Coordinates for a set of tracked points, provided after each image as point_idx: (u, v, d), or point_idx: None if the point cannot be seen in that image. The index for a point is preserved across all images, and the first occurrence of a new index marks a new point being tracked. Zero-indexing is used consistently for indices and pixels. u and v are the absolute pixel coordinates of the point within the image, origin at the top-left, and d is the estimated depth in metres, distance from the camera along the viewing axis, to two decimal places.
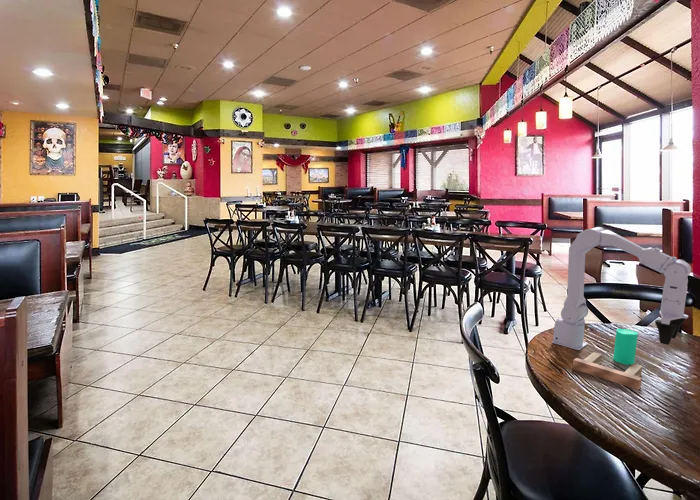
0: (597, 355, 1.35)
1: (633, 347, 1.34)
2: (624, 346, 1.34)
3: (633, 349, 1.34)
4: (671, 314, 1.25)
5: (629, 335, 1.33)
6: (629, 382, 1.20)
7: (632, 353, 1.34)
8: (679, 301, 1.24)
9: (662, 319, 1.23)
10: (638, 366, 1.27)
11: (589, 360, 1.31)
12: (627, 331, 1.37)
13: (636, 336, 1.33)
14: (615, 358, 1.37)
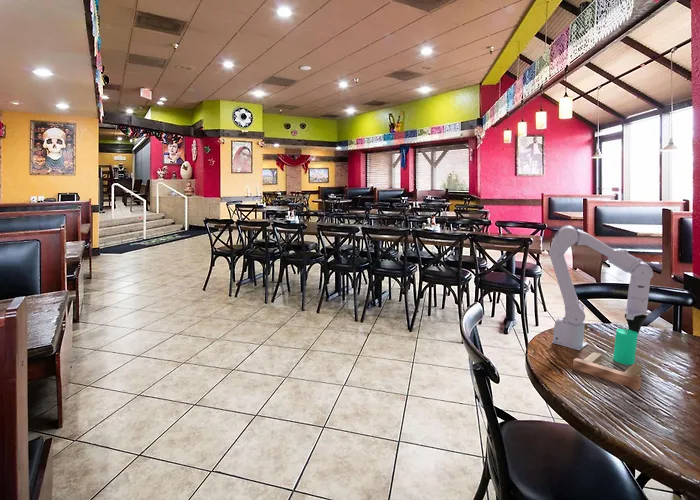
0: (597, 355, 1.35)
1: (633, 347, 1.34)
2: (624, 346, 1.34)
3: (633, 349, 1.34)
4: (635, 310, 1.37)
5: (629, 335, 1.33)
6: (629, 382, 1.20)
7: (632, 353, 1.34)
8: (642, 298, 1.36)
9: (627, 315, 1.36)
10: (638, 366, 1.27)
11: (589, 360, 1.31)
12: (627, 331, 1.37)
13: (636, 336, 1.33)
14: (615, 358, 1.37)
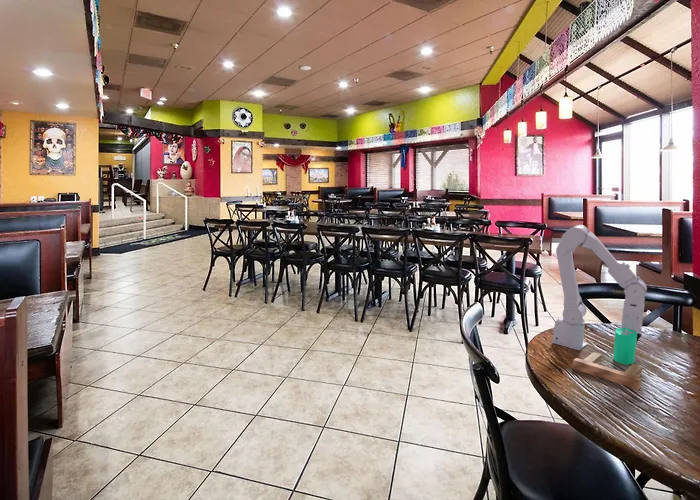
0: (597, 355, 1.35)
1: (633, 347, 1.33)
2: (623, 347, 1.34)
3: (633, 349, 1.33)
4: None
5: (628, 336, 1.32)
6: (629, 382, 1.20)
7: (632, 353, 1.34)
8: (637, 317, 1.35)
9: None
10: (638, 366, 1.27)
11: (589, 360, 1.31)
12: None
13: (635, 336, 1.32)
14: (615, 358, 1.37)
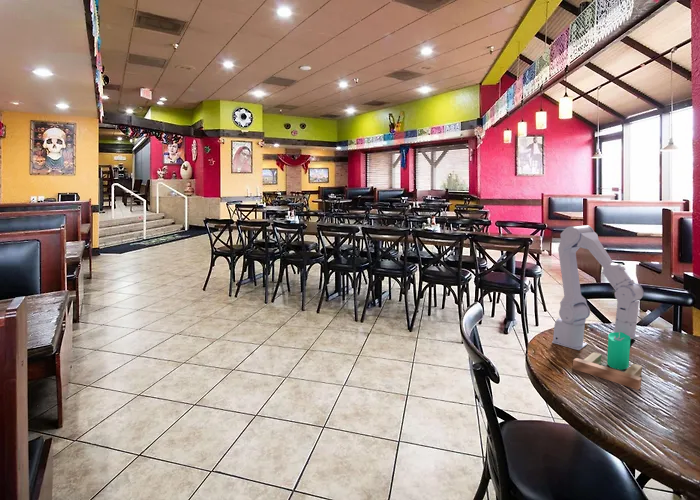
0: (597, 355, 1.35)
1: (626, 353, 1.29)
2: (616, 353, 1.29)
3: (626, 355, 1.29)
4: None
5: (621, 343, 1.27)
6: (629, 382, 1.20)
7: (625, 358, 1.29)
8: (630, 322, 1.30)
9: (614, 339, 1.30)
10: (638, 366, 1.27)
11: (589, 360, 1.31)
12: (620, 335, 1.31)
13: (628, 342, 1.28)
14: (609, 363, 1.33)
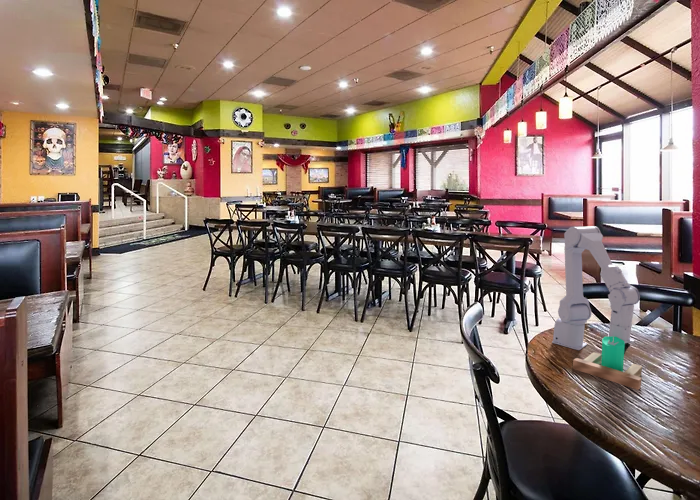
0: (597, 355, 1.35)
1: (620, 358, 1.25)
2: (610, 358, 1.26)
3: (620, 360, 1.26)
4: None
5: (615, 347, 1.24)
6: (629, 382, 1.20)
7: (619, 363, 1.26)
8: (625, 326, 1.27)
9: None
10: (638, 366, 1.27)
11: (589, 360, 1.31)
12: (614, 340, 1.28)
13: (623, 347, 1.24)
14: None
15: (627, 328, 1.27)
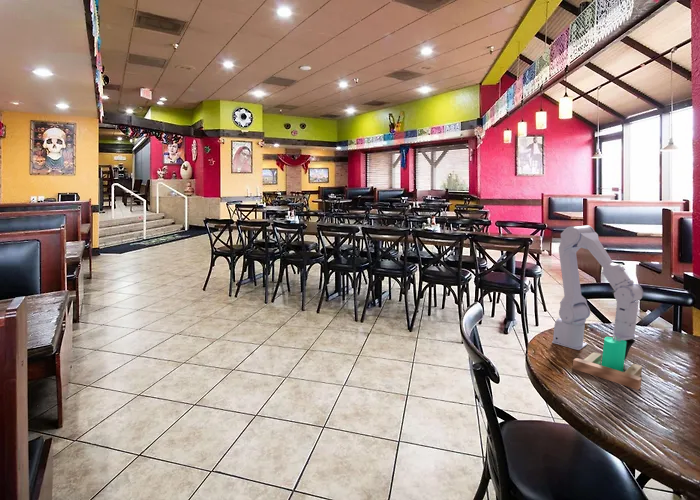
0: (597, 355, 1.35)
1: (621, 357, 1.26)
2: (611, 356, 1.27)
3: (621, 359, 1.27)
4: (622, 335, 1.31)
5: (617, 344, 1.26)
6: (629, 382, 1.20)
7: (620, 363, 1.27)
8: (630, 323, 1.30)
9: None
10: (638, 366, 1.27)
11: (589, 360, 1.31)
12: None
13: (624, 345, 1.26)
14: None
15: (632, 324, 1.30)
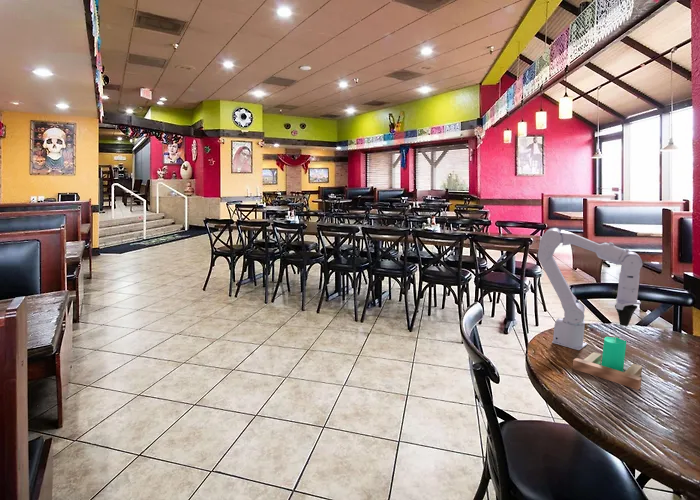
0: (597, 355, 1.35)
1: (621, 357, 1.26)
2: (611, 356, 1.27)
3: (621, 359, 1.27)
4: (625, 301, 1.38)
5: (617, 344, 1.26)
6: (629, 382, 1.20)
7: (620, 363, 1.27)
8: (632, 289, 1.36)
9: (616, 305, 1.36)
10: (638, 366, 1.27)
11: (589, 360, 1.31)
12: (615, 340, 1.30)
13: (624, 345, 1.26)
14: None
15: (634, 290, 1.36)
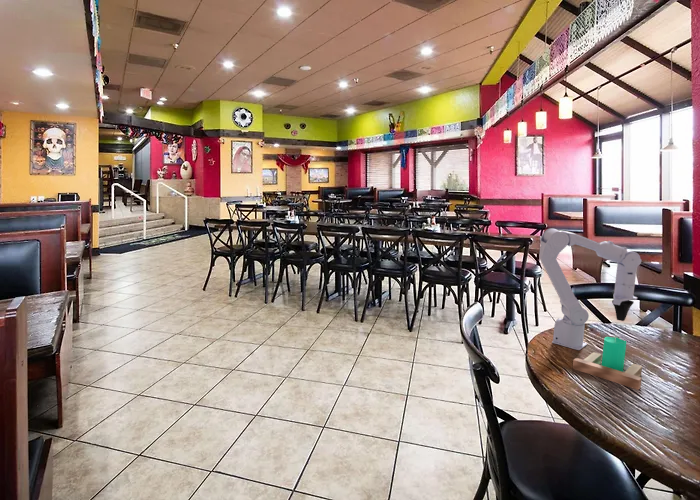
0: (597, 355, 1.35)
1: (621, 357, 1.26)
2: (611, 356, 1.27)
3: (621, 359, 1.27)
4: (622, 296, 1.43)
5: (617, 344, 1.26)
6: (629, 382, 1.20)
7: (620, 363, 1.27)
8: (629, 285, 1.41)
9: (614, 300, 1.41)
10: (638, 366, 1.27)
11: (589, 360, 1.31)
12: (615, 340, 1.29)
13: (624, 345, 1.26)
14: None
15: (631, 286, 1.41)
